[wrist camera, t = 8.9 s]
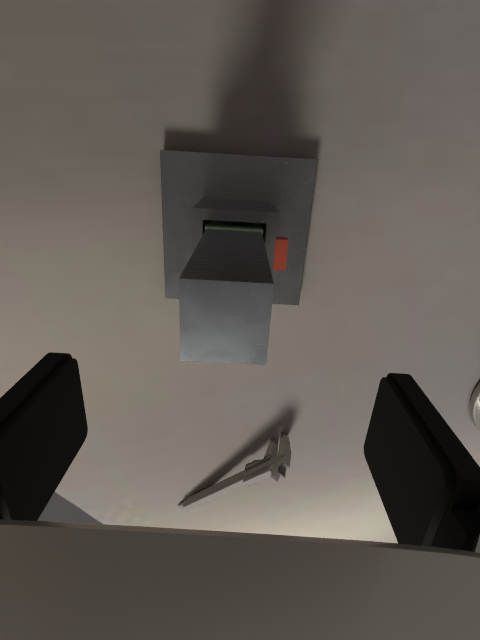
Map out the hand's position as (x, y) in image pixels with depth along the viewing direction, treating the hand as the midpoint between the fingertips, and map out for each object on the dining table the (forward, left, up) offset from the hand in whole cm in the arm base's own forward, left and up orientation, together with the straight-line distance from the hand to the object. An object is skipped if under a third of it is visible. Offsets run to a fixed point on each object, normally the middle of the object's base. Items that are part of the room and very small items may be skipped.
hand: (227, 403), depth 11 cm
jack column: (0, 0, -19) cm, 19 cm away
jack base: (0, 0, -27) cm, 27 cm away
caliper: (0, +33, -28) cm, 43 cm away
